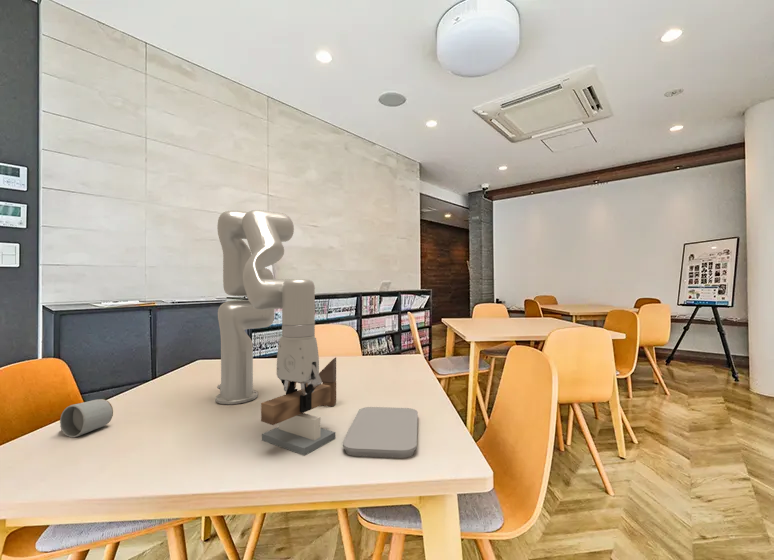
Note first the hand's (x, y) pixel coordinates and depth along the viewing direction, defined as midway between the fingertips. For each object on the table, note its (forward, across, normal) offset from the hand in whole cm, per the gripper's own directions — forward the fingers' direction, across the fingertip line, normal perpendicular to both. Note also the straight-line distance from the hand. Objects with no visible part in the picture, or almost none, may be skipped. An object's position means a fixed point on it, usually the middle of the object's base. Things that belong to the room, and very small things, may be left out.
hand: (298, 408), depth 85 cm
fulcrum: (+7, 0, 0) cm, 7 cm away
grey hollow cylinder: (+8, -50, -26) cm, 57 cm away
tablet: (+8, +15, +14) cm, 22 cm away
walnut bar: (+1, 0, 0) cm, 1 cm away
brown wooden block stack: (+8, -14, +21) cm, 26 cm away
